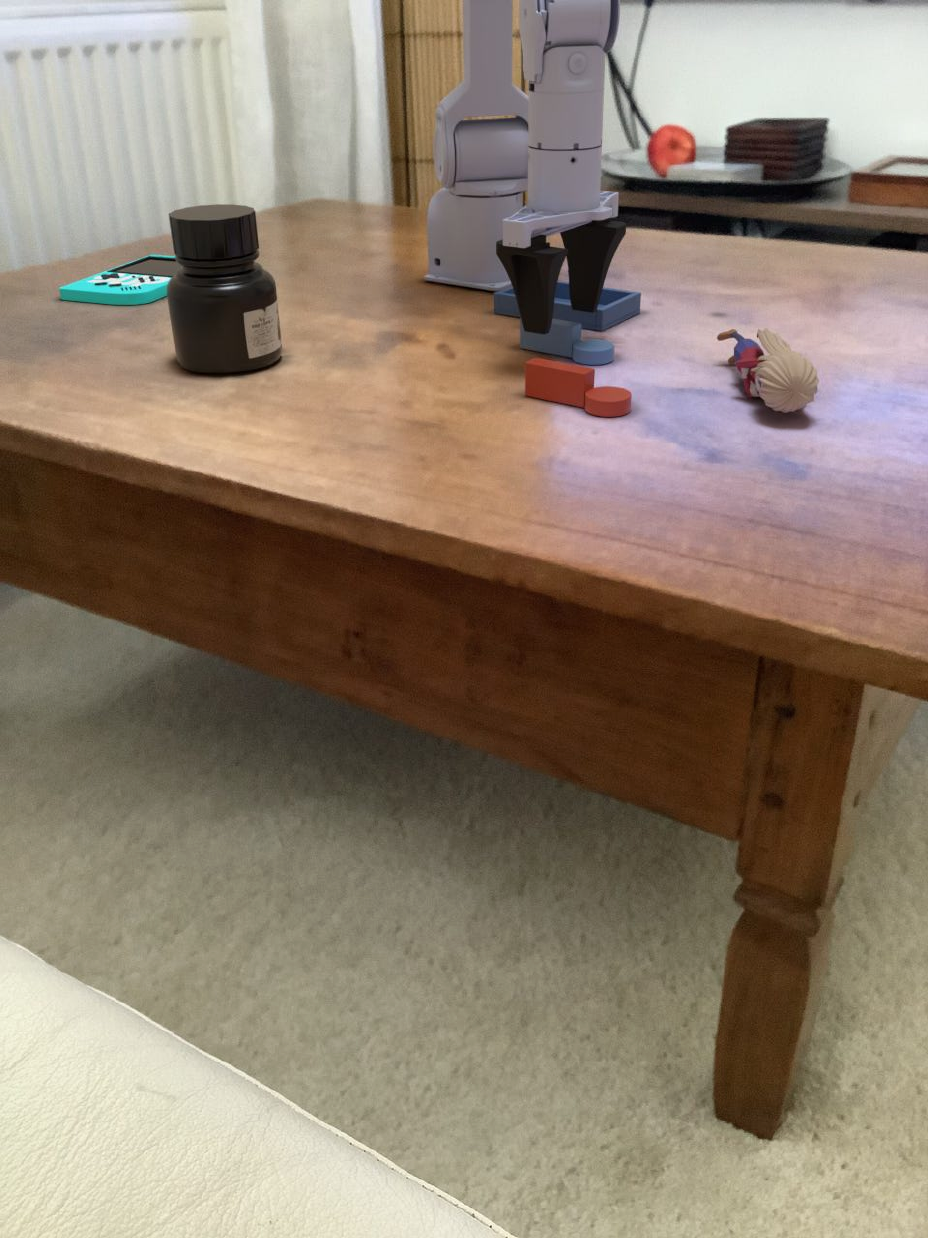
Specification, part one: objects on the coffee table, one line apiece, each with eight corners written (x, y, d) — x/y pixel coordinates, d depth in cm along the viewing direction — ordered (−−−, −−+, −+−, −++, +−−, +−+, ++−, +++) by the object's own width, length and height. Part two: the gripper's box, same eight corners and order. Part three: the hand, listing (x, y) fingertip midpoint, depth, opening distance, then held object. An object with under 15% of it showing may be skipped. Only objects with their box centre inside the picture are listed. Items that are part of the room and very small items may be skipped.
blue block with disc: (513, 351, 96) (513, 320, 95) (534, 341, 99) (535, 311, 97) (600, 367, 92) (602, 335, 91) (620, 356, 94) (622, 325, 93)
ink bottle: (284, 374, 92) (269, 220, 86) (174, 381, 91) (150, 226, 85) (281, 340, 100) (267, 198, 94) (180, 347, 99) (159, 203, 93)
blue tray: (493, 312, 107) (493, 292, 106) (534, 296, 112) (534, 276, 111) (601, 331, 101) (602, 310, 100) (640, 312, 106) (641, 292, 105)
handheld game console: (57, 299, 114) (54, 285, 114) (151, 264, 127) (149, 251, 126) (139, 307, 111) (137, 293, 110) (227, 270, 124) (226, 257, 123)
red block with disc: (517, 399, 86) (518, 365, 84) (541, 386, 88) (542, 354, 87) (616, 420, 81) (618, 385, 80) (639, 406, 84) (641, 372, 82)
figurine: (699, 324, 90) (751, 370, 77) (748, 296, 90) (809, 338, 76) (728, 385, 93) (783, 441, 79) (776, 359, 92) (840, 411, 79)
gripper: (560, 161, 80) (556, 349, 87) (655, 137, 90) (644, 307, 97) (479, 155, 84) (481, 336, 91) (578, 132, 94) (574, 296, 101)
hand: (561, 320), depth 94 cm, fingers open, 7 cm apart
